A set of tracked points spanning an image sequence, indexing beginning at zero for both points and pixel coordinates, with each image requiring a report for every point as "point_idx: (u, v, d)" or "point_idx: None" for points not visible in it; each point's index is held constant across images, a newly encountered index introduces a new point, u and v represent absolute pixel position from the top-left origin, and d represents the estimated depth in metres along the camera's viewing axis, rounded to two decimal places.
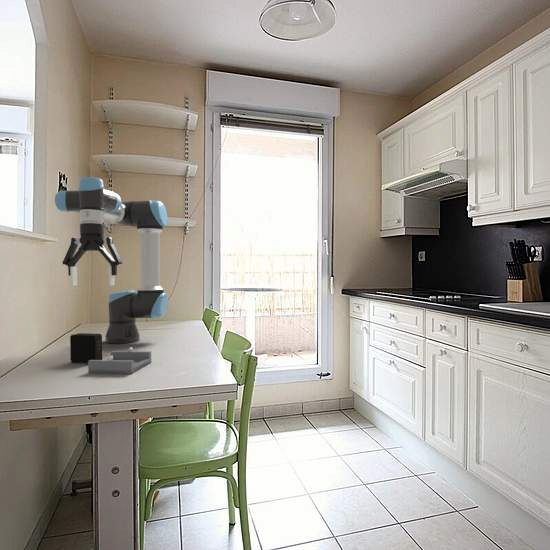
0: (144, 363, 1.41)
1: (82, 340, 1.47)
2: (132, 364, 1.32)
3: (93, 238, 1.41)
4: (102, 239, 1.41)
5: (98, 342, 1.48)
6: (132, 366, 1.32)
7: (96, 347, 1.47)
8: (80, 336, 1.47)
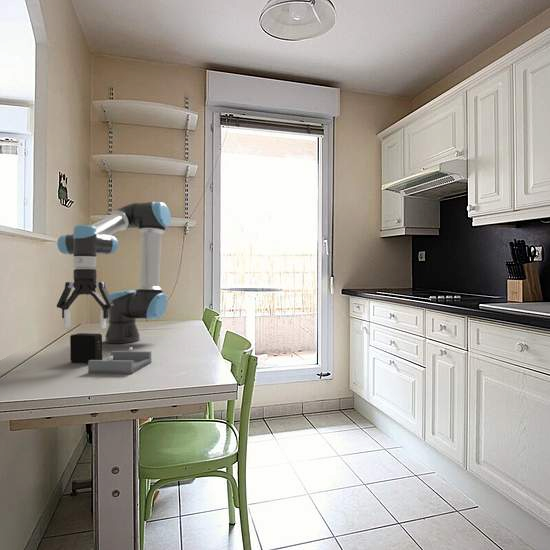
0: (144, 363, 1.41)
1: (82, 340, 1.47)
2: (132, 364, 1.32)
3: (86, 283, 1.48)
4: (94, 284, 1.48)
5: (98, 342, 1.48)
6: (132, 366, 1.32)
7: (96, 347, 1.47)
8: (80, 336, 1.47)
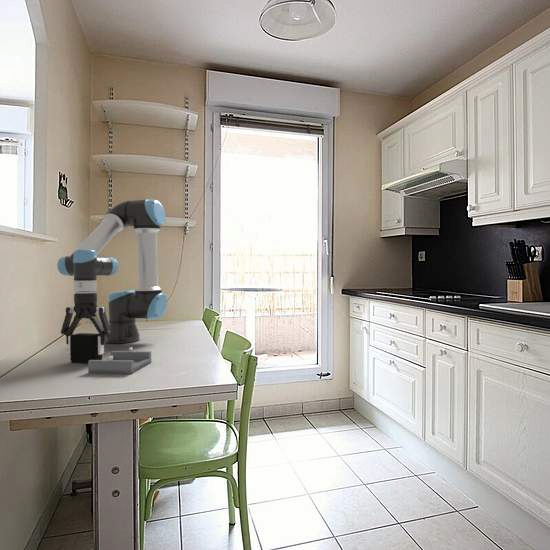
0: (144, 363, 1.41)
1: (82, 340, 1.47)
2: (132, 364, 1.32)
3: (87, 306, 1.48)
4: (95, 308, 1.48)
5: None
6: (132, 366, 1.32)
7: (96, 347, 1.47)
8: (80, 336, 1.47)
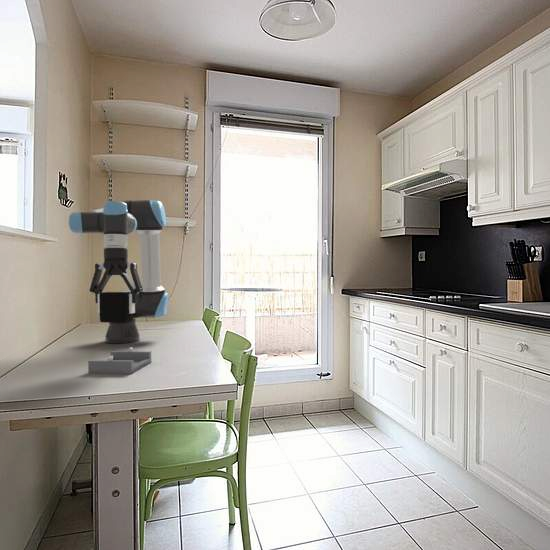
0: (144, 363, 1.41)
1: (112, 297, 1.38)
2: (132, 364, 1.32)
3: (117, 262, 1.39)
4: (126, 264, 1.39)
5: None
6: (132, 366, 1.32)
7: (127, 305, 1.38)
8: (110, 293, 1.38)
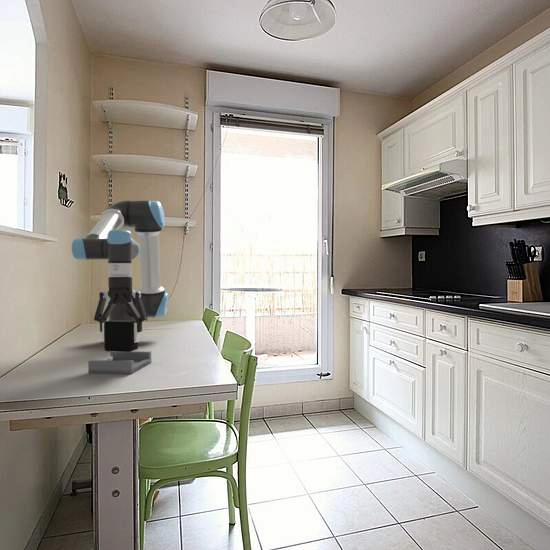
0: (144, 363, 1.41)
1: (117, 326, 1.37)
2: (132, 364, 1.32)
3: (122, 291, 1.38)
4: (131, 293, 1.38)
5: None
6: (132, 366, 1.32)
7: (132, 334, 1.37)
8: (115, 323, 1.38)
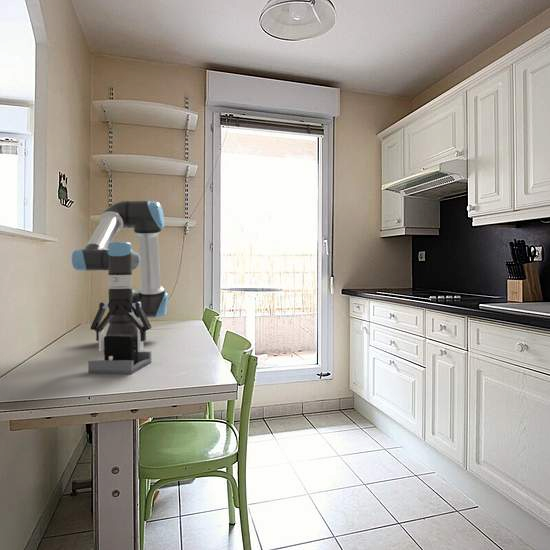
0: (144, 363, 1.41)
1: (117, 341, 1.37)
2: (132, 364, 1.32)
3: (122, 303, 1.38)
4: (131, 304, 1.38)
5: (134, 343, 1.39)
6: (132, 366, 1.32)
7: (132, 349, 1.37)
8: (115, 337, 1.38)
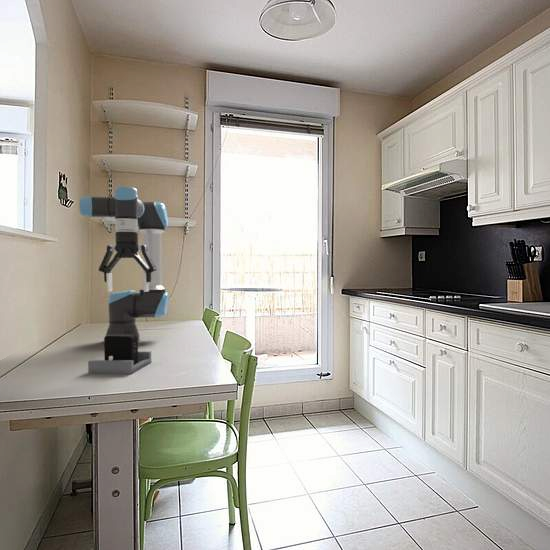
0: (144, 363, 1.41)
1: (117, 341, 1.38)
2: (132, 364, 1.32)
3: (128, 246, 1.45)
4: (137, 247, 1.45)
5: (134, 344, 1.39)
6: (132, 366, 1.32)
7: (132, 349, 1.37)
8: (115, 337, 1.38)
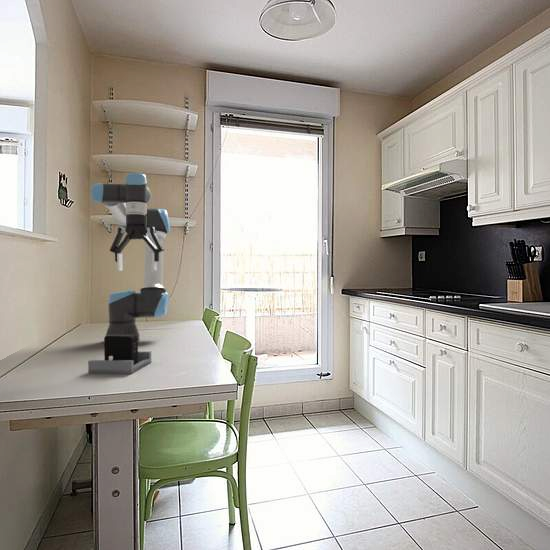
0: (144, 363, 1.41)
1: (117, 341, 1.38)
2: (132, 364, 1.32)
3: (138, 228, 1.56)
4: (146, 229, 1.56)
5: (134, 344, 1.39)
6: (132, 366, 1.32)
7: (132, 349, 1.37)
8: (115, 337, 1.38)
